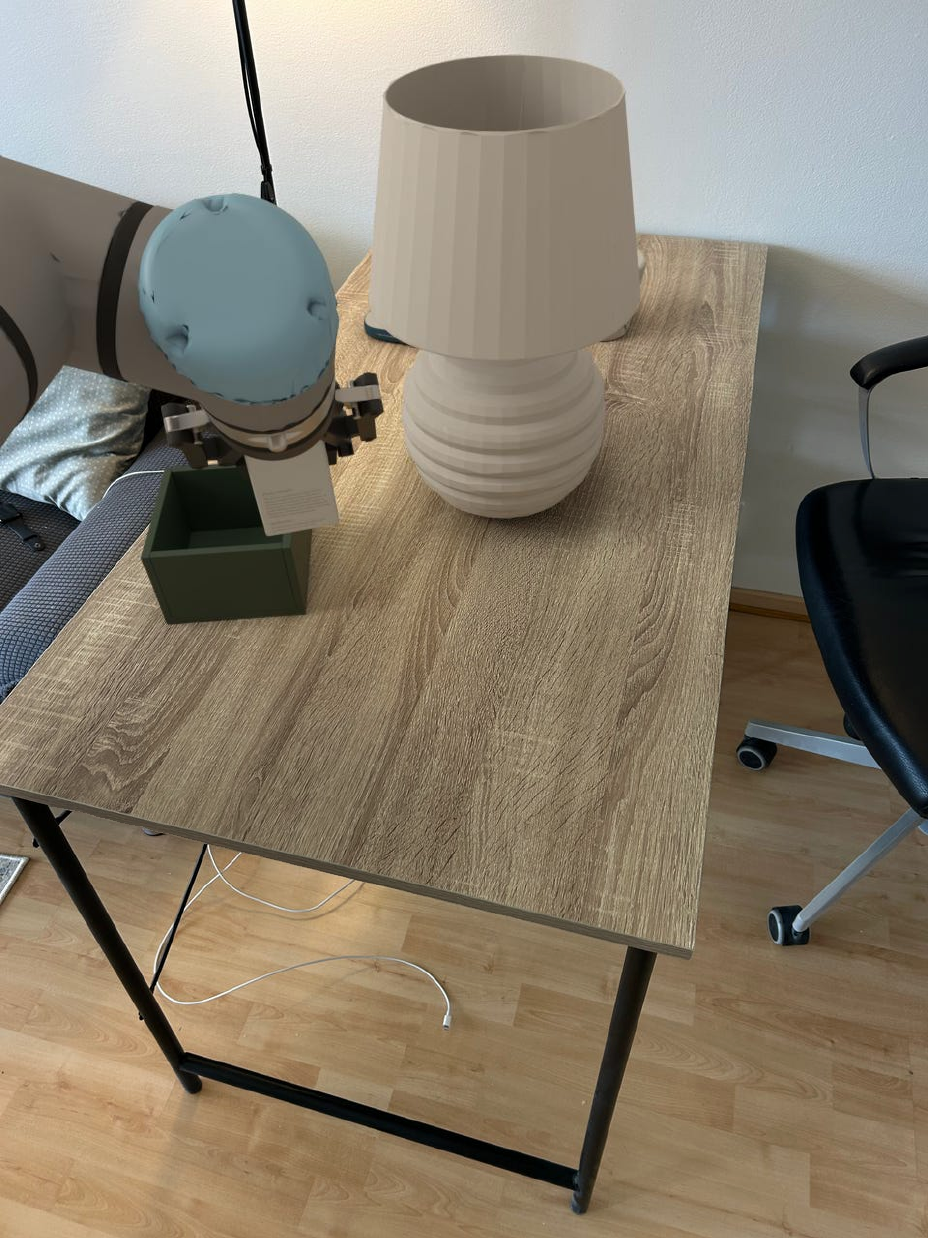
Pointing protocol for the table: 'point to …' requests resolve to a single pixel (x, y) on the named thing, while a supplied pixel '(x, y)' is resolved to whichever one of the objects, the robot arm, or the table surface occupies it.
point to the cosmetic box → (294, 491)
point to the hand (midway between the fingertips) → (287, 455)
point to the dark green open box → (221, 551)
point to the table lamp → (504, 269)
